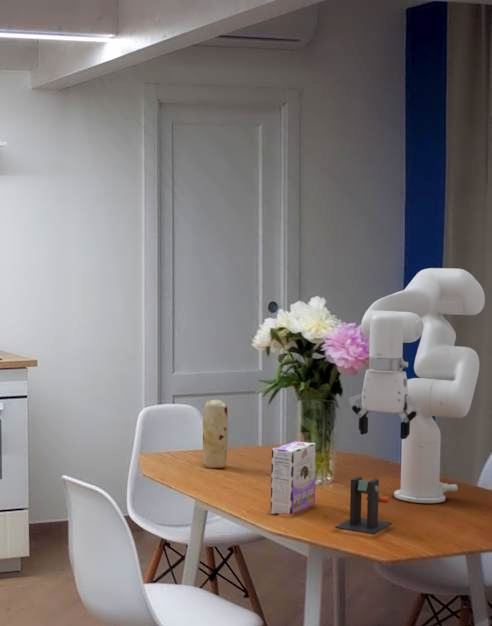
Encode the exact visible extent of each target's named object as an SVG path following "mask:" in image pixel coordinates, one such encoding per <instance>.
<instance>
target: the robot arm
mask: <svg viewBox="0 0 492 626" xmlns="http://www.w3.org/2000/svg"><path fill="white" fill-rule="evenodd" d="M485 302H486V296H485V292H484V289H483V286H482V285H481V284H480V283H479V281H478V280H477V279H476V278H475V277H474V275H473V274H471V273H470V272H469V271H467V270H466V269H463V268H453V267H451V268H449V267H448V268H447V267H442V268H441V267H429V268H424V269H421V270H420V271H418V272H417V273H416V275H415V276H414V277H413V278H412V279H411V280H410V282H409V283H408V284H407V286H406V287H405V288H404V289H403V290H399V291H397V292H394V293H392V294H389V295H386V296H383V297H381V298H379V299H377V300H375V301H374V302H373V303H372V304H371V305H370V306H369V307H367V308H368V309H367V310H366V311H365V312H364V315H363V316H362V319H361V323H360V330H361V334H362V335H363V337H364V338H365V339H366V340H369V348H368V349H369V353H368V357H369V358H368V359H369V360H368V369H366V370H365V375H364V379H363V385H362V392H361V393H359V394H356V395H354V396H352V397H349V398H348V402H349V405H350V407H351V410H352V411H353V412H354V413H355V415H356V416H357V418H358V430H359V434H360V435H366V434H368V432H369V417H368V416H367V415H368V414H369V413H370V412H376V413H383V414H384V413H385V414H395V415H396V414H397V415H398V416H399V417H400V419H401V422H400V436H399V438H400V439H401V454H400V456H401V457H400V488H399V489H396V490H394V492H393V496H394V498H396V499H397V500H401V501H403V502H407V503H417V504H440V503H444V502H445V501H446V495H445V494H446V493H447V492H449V493H456V492H458V484H456V483H454V484H452V483H451V484H449V483H444V482H442V481H440V479H441V478H440V477H441V476H440V474H441V443H442V442H441V441H442V440H441V439H442V437H441V436H442V434H441V429H440V427H439V425H438V424H437V422H436V421H435V420H434V418H433V417H438V418H439V417H441V418H450V419H461V418H465V417H466V416H467V415H468V413H469V411H470V410H471V406H472V402H473V398H474V394H475V390H476V387H477V386H476V385H477V382H478V379H479V378H478V377H479V373H480V358H479V355H478V353H477V351H475V350H474V349H473V348H471V347H469V346H459V345H458V346H457V345H455V343H456V339H457V334H456V331H455V329H454V327H453V326H452V325H451V323H450V322H449V321H448V320H447V319H446V318H445V317H444V316H443V315H455V316H456V315H457V316H476V315H478V314H479V313H481V312H482V311H483V309H484V307H485V304H486V303H485ZM419 339H420V340H419ZM418 340H419V344H418V347H417V351H416V355H415V358H414V364H413V370H414V373H415V375H416V376H417V377H412V378H408V377H407V372H406V371H403V369H404V368H409V361H405V360H404V358H403V347H404V346H403V345H404V344H405V343H406V344H407V343H408V344H410V343H415V342H417V341H418ZM403 343H404V344H403ZM360 400H361V407H362V408H361V407H360V406H359V405H358V401H360Z"/></svg>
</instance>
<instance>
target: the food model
mask: <svg viewBox="0 0 492 626" xmlns="http://www.w3.org/2000/svg"><path fill="white" fill-rule="evenodd" d="M228 424H229V420H228V405H227V403H226V402H223V401H222V400H220V399H211V400H207V401H206V402H205V405H204V407H203V411H202V460H203V464H204V466H205V467H207V468H208V469H213V468H219V469H222V468H224V467H226V464H227V456H228V443H229V441H228V436H229V435H228V433H229V429H228V428H229V425H228Z"/></svg>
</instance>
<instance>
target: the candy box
mask: <svg viewBox="0 0 492 626" xmlns="http://www.w3.org/2000/svg"><path fill="white" fill-rule="evenodd" d="M316 445H317V444H316V443H315V442H307V441H298V440H295V441H292V442H289V443H286V444H283V445H280V446H277V447H273V448H272V449H271V470H270V471H271V476H270V511H269V512H270V514H272V515H276V516H278V515H281V514H287V515H293V514H295V513H297V512H300V511H302V510H305V509H307V508H309V507H312V506H314V505H315V504H316V461H317V459H316V458H317V457H316V455H317V453H316V452H317V451H316V450H317V447H316Z"/></svg>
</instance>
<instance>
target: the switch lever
mask: <svg viewBox="0 0 492 626" xmlns="http://www.w3.org/2000/svg"><path fill="white" fill-rule="evenodd" d="M369 481H370V480H363V479H362V480H359V483H358V488H357V490H358V491H359V492H360V493H362V494H365V495H366V501H368V482H369ZM378 503H382V504H390V497H388V496H381V495H378Z"/></svg>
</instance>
